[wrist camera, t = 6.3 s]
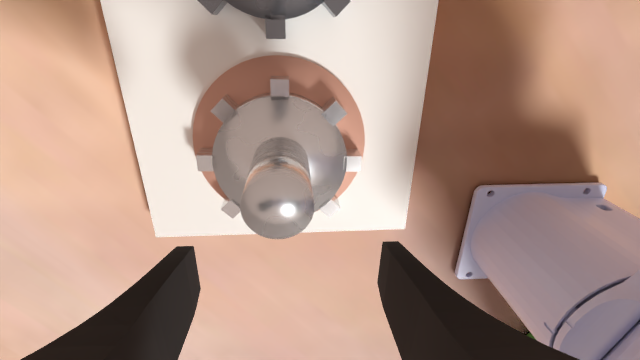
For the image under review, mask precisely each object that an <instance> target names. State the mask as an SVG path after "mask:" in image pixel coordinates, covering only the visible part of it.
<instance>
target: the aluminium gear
mask: <svg viewBox="0 0 640 360" xmlns="http://www.w3.org/2000/svg"><path fill="white" fill-rule="evenodd" d="M270 89H271V92H269V93H264V94H260V95H257V96H254V97H252V98H250V99H248V100H246V101H244V102H243V103H241V104H240V105H238V104H237V103H236V102H235V101H234V100H233V99H232V98H231V97H229V96H228V95H227V94H226V95H225V96H224V97H223V98H222V99H221V100H220V101H219V102H218V103H217V104H216V105H215V107H214V108H213V109H212V110H211V112H212V113H213V114H214V115H215V116H216V117H217V118H218V119H220V120H221V121H222V122H223V124H222V126H221V128H220V129H219V131H218V133H217V136H216V138H215V141H214V145H213V148H201V149H200V150H199V152H198V153H197V154H196V161H197V169H198V171H214V174H215V177H216V180H217V182H218V184H219V186H220V188H221V189H222V191H223V192H224V194H225V195H226V196H227V197H226V198H225V199H224V201H223V204H222V206H221V210H222V211H223V212H225V213H226V214H227V215H229V216H230V217H231V218H232V219H233V218H234V217H235V216H236V215H237V214H238V213H240V212H241V215H242V218H243V220H244V222H245V223H246V225H247V226H248V227H249V228H250V229H251V230H252V231H254V232H255V233H257V234H258V235H260V236H263V237H266V238H271V239H285V238H289V237H292V236H295V235H297V234H298V233H300V232H301V231H303V230H304V229H305V228H306V227H307V226H308V224H309V223H310V221H311V219H312V217H313V214H314V212H316V211H317V210H319V209H320V210H321V211H322V212H323V213H324V214H326V215H327V216H328V217H331V216H332V215H333V214H334V213H335V212H337V211H338V210H339V209H340V205H339V201H338V198H337V197H336V196H335V194H336V193H337V191H338V190H339V188H340V186H341V184H342V182H343V179H344V176H345V173H346V172H360V171H361V161H362V156H361V154H360V152H359V150H358V149H346V147H345V143H344V140H343V137H342V135H341V133H340V131H339V129H338V126H337V125H336V124H337V123H338V122H339V121H340V120H341V119H342V118H343V117H344V116H345V115H347V112H346V110H345V109H344V108H343V107H342V105H341V104H340V103H339V102H338V101H337V100H336V99H335V98H334V97H332V98H331V99H330V100H329V101H327V102H326V103H325V104H324V105H323V106H322V107H321V106H320V105H318V104H317V103H316V102H314V101H312V100H310V99H308V98H307V97H304V96H301V95H298V94H294V93H289V76H271V78H270Z"/></svg>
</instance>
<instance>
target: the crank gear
mask: <svg viewBox="0 0 640 360" xmlns="http://www.w3.org/2000/svg"><path fill="white" fill-rule="evenodd" d="M198 1H199V2H200V3H201V4H202V5H203V6H204V7H205V8H206V9H207V10H208V11H209V12H210V13H211V14H212V15H218V14H219V12H220V11H221V10H222V9H223V8H224V6H225V5H226V4H227V3H229V4H230V5H232V6H233V7H235V8H236V9H238V10H240V11H242V12H244V13H246V14H249V15H252V16H254V17H259V18H263V19H265V27H266V39H286V22H285V20H286V19H291V18H296V17H299V16H301V15H304V14H306V13H308V12H310V11H312V10H313V9H315V8H316V7H318V6H319V5H320V4H322V5H323V6H324V7H325V8H326V9H327V10H328V12H329V13H330V14H331V15H332V16H333V17H337V15H338V14H339V13H340V12H341V11H342V10H343V9H344V8H345V7H346V6H347V5H348V4H349V3H350V2H351V1H350V0H198Z"/></svg>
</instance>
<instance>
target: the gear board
mask: <svg viewBox="0 0 640 360" xmlns="http://www.w3.org/2000/svg"><path fill="white" fill-rule="evenodd" d="M350 1H351V2H350V3H349V4H348V5H347V6H346V7H345V8H344V9H343V10H342V11H341V12H340V13H339V14H338V15H337V17H333V16H332V15H331V14H330V13H329V12H328V10H327V9H326V8H325V7H324V6H323V5H322V4H320V5H319V6H318V7H316V8H315V9H313V10H312V11H310V12H308V13H306V14H304V15H301V16H299V17H296V18H291V19H286V20H285V22H286V39H266V27H265V19H263V18H259V17H254V16H252V15H249V14H246V13H244V12H242V11H240V10H238V9H236V8H235V7H233V6H232V5H230V4H229V3H227V4H226V5H225V6H224V8H223V9H222V10H221V11H220V12H219V14H218V15H212V14H211V13H210V12H209V11H208V10H207V9H206V8H205V7H204V6H203V5H202V4H201V3H200V2H199V1H198V0H100V2H101V6H102V10H103V15H104V19H105V23H106V27H107V32H108V36H109V40H110V44H111V48H112V53H113V57H114V61H115V65H116V70H117V74H118V78H119V82H120V86H121V91H122V95H123V99H124V103H125V108H126V112H127V116H128V120H129V125H130V129H131V133H132V137H133V141H134V146H135V150H136V154H137V158H138V163H139V167H140V171H141V175H142V180H143V184H144V188H145V192H146V196H147V201H148V205H149V209H150V213H151V218H152V222H153V226H154V230H155V235H156V237H178V236H208V235H238V234H257V233H255V232H254V231H252V230H251V229H250V228H249V227H248V226H247V225H246V223H245V222H244V220H243V218H242V215H241V212H240V213H238V214H237V215H236V216H235V217H234V218H233V219H232V218H231V217H230V216H229V215H227V214H226V213H225V212H223V211H222V210H221V206H222V204H223V201H224V199H225V198H226V197H227V196H226V195H225V194H224V192H223V191H222V189H221V188H220V186H219V184H218V182H217V180H216V177H215V174H214V171H198V169H197V161H196V154H197V153H198V152H199V150H200V149H201V148H213V145H214V141H215V138H216V136H217V133H218V131H219V129H220V128H221V126H222V124H223V122H222V121H221V120H220V119H218V118H217V117H216V116H215V115H214V114H213V113H212V112H211V110H212V109H213V108H214V107H215V105H216V104H217V103H218V102H219V101H220V100H221V99H222V98H223V97H224V96H225V95H226V94H227V95H228V96H229V97H231V98H232V99H233V100H234V101H235V102H236V103H237V104H238V105H240V104H241V103H243V102H244V101H246V100H248V99H250V98H252V97H254V96H257V95H260V94H264V93H269V92H271V89H270V78H271V76H289V93H294V94H298V95H301V96H304V97H307V98H308V99H310V100H312V101H314V102H316V103H317V104H318V105H320V106H321V107H322V106H323V105H324V104H325V103H326V102H327V101H329V100H330V99H331V98H332V97H334V98H335V99H336V100H337V101H338V102H339V103H340V104H341V105H342V107H343V108H344V109H345V110H346V112H347V115H345V116H344V117H343V118H342V119H341V120H340V121H339V122H338V123H337V124H336V125H337V126H338V129H339V131H340V133H341V135H342V137H343V140H344V143H345V147H346V149H358V150H359V152H360V154H361V156H362V161H361V171H360V172H346V173H345V176H344V179H343V182H342V184H341V186H340V188H339V190H338V191H337V193H336V194H335V196H336V197H337V198H338V201H339V205H340V209H339V210H338V211H337V212H335V213H334V214H333V215H332V216H331V217H328V216H327V215H326V214H324V213H323V212H322V211H321V210H320V209H319V210H317V211H316V212H314V214H313V217H312V219H311V221H310V223H309V224H308V226H307V227H306V228H305V229H304V230H303V231H301V232H329V231H359V230H389V229H405V225H406V218H407V212H408V205H409V198H410V191H411V184H412V178H413V171H414V164H415V157H416V150H417V144H418V137H419V130H420V123H421V117H422V110H423V103H424V96H425V89H426V83H427V76H428V69H429V62H430V56H431V49H432V42H433V35H434V28H435V22H436V15H437V8H438V1H439V0H350Z"/></svg>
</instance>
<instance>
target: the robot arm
mask: <svg viewBox="0 0 640 360" xmlns="http://www.w3.org/2000/svg"><path fill="white" fill-rule="evenodd" d="M585 189H586V190H585ZM584 190H585V191H584ZM606 190H607V187H606V185H604V184H602V183H556V184H513V185H481V186H479V187H477V188H476V189H475V191H474V194H473V198H472V202H471V207H470V211H469V215H468V219H467V223H466V227H465V232H464V236H463V240H462V244H461V248H460V253H459V257H458V261H457V265H456V269H455V275H456V277H457V278H458V279H483V278H489V280H490V281H491V282H492V284H493V285H494V286H495V287H496V289H497V290H498V291H499V293H500V294H501V295H502V296H503V298H504V299H505V300H506V302H507V303H508V304H509V305H510V307H511V308H512V309H513V311H514V312H515V313H516V314H517V316H518V317H519V318H520V320H521V321H522V322H523V323H524V325H525V326H526V327H527V329H528V330H529V331H530V332H531V334H532V335H533V336H534V338H535V339H536V340H535V339H533V338H531V337H529V336H527V335H525V334H523V333H521V332H519V331H517V330H515V329H513V328H511V327H510V326H508V325H506V324H504V323H503V322H501V321H499V320H497V319H496V318H494V317H492V316H491V315H489V314H487V313H486V312H484V311H483V310H481V309H479V308H478V307H477V306H475V305H474V304H472V303H471V302H469V301H468V300H466V299H465V298H463V297H462V296H461V295H459V294H458V293H457V292H455V291H454V290H453V289H451V288H450V287H449V286H448V285H446V284H445V283H444V282H443V281H441V280H440V279H439V278H438V277H437V276H435V275H434V274H433V273H432V272H431V271H430V270H428V269H427V268H426V267H425V266H424V265H423V264H422V263H421V262H420V261H419V260H417V259H416V258H415V257H414V256H413V255H412V254H411V253H410V252H409V251H408V250H407V249H406V248H405V247H404V246H403V245H401V244H400V243H399V242H398V241H397V242H383V244H382V252H381V259H380V267H379V275H378V282H377V283H378V287H379V292H380V297H381V301H382V305H383V308H384V311H385V314H386V317H387V320H388V322H389V325H390V328H391V331H392V334H393V336H394V339H395V342H396V344H397V347H398V350H399V353H400V355H401V358H402V360H640V219H639V218H637V217H636V216H634V215H632V214H630V213H629V212H627V211H625V210H623V209H621V208H620V207H618V206H616V205H614V204H612V203H611V202H609V201H607V200H605V199H603V198H604V195H605V193H606ZM489 191H491V193H490V194H487V193H488V192H489ZM468 272H469V273H468ZM200 289H201V288H200V282H199V276H198V270H197V264H196V258H195V252H194V246H181V247H176V248H175V249H173V250H172V251H171V252H170V253H169V254H168V255H167V256H166V257H165V258H163V259H162V260H161V261H160V262H159V263H158V264H157V265H156V266H155V267H154V268H152V269H151V270H150V271H149V272H148V273H147V274H146V275H144V276H143V277H142V278H141V279H140V280H139V281H138V282H136V283H135V284H134V285H133V286H132V287H130V288H129V289H128V290H127V291H125V292H124V293H123V294H122V295H120V296H119V297H118V298H117V299H115V300H114V301H113V302H112V303H110V304H109V305H108V306H106V307H105V308H103V309H102V310H101V311H99V312H98V313H96V314H95V315H94V316H92V317H91V318H89V319H88V320H86V321H85V322H83V323H82V324H80V325H79V326H77V327H76V328H74V329H72V330H71V331H69V332H67V333H66V334H64V335H62V336H61V337H59V338H58V339H56V340H54V341H53V342H51V343H49V344H48V345H46V346H44V347H43V348H41V349H39V350H37V351H35V352H34V353H32V354H30V355H28V356H26V357H24V358H23V359H21V360H178V357H179V355H180V352H181V349H182V347H183V344H184V341H185V339H186V336H187V333H188V331H189V328H190V325H191V323H192V320H193V317H194V314H195V310H196V306H197V302H198V298H199V293H200Z"/></svg>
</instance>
